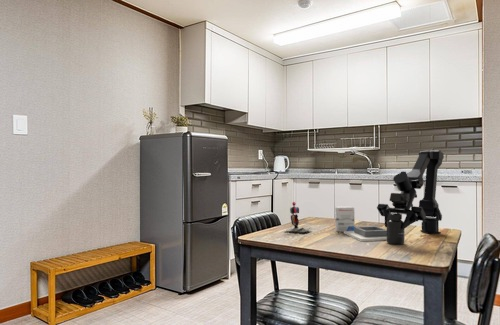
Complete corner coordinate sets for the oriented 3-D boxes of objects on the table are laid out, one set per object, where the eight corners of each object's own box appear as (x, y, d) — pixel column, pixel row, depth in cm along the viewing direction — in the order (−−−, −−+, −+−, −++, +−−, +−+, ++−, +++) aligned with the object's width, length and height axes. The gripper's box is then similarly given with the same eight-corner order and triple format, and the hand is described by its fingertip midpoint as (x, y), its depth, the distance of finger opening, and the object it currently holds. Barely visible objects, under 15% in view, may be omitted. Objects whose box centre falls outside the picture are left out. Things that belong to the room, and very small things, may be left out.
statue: (284, 234, 170) (280, 203, 171) (292, 231, 178) (288, 201, 179) (305, 234, 164) (300, 202, 165) (312, 230, 172) (308, 200, 173)
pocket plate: (379, 232, 169) (379, 224, 169) (400, 239, 151) (400, 231, 151) (343, 233, 166) (343, 225, 166) (361, 241, 148) (361, 232, 148)
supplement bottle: (403, 245, 139) (402, 215, 140) (385, 244, 143) (384, 214, 143) (405, 242, 145) (405, 213, 145) (388, 240, 149) (388, 212, 149)
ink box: (352, 230, 175) (352, 206, 175) (354, 231, 170) (354, 207, 170) (335, 229, 175) (335, 206, 176) (336, 231, 170) (336, 207, 171)
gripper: (378, 185, 154) (365, 212, 147) (422, 186, 140) (410, 217, 133) (387, 201, 159) (375, 229, 152) (430, 205, 145) (419, 235, 138)
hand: (393, 227), depth 143 cm, fingers closed on supplement bottle, 7 cm apart
